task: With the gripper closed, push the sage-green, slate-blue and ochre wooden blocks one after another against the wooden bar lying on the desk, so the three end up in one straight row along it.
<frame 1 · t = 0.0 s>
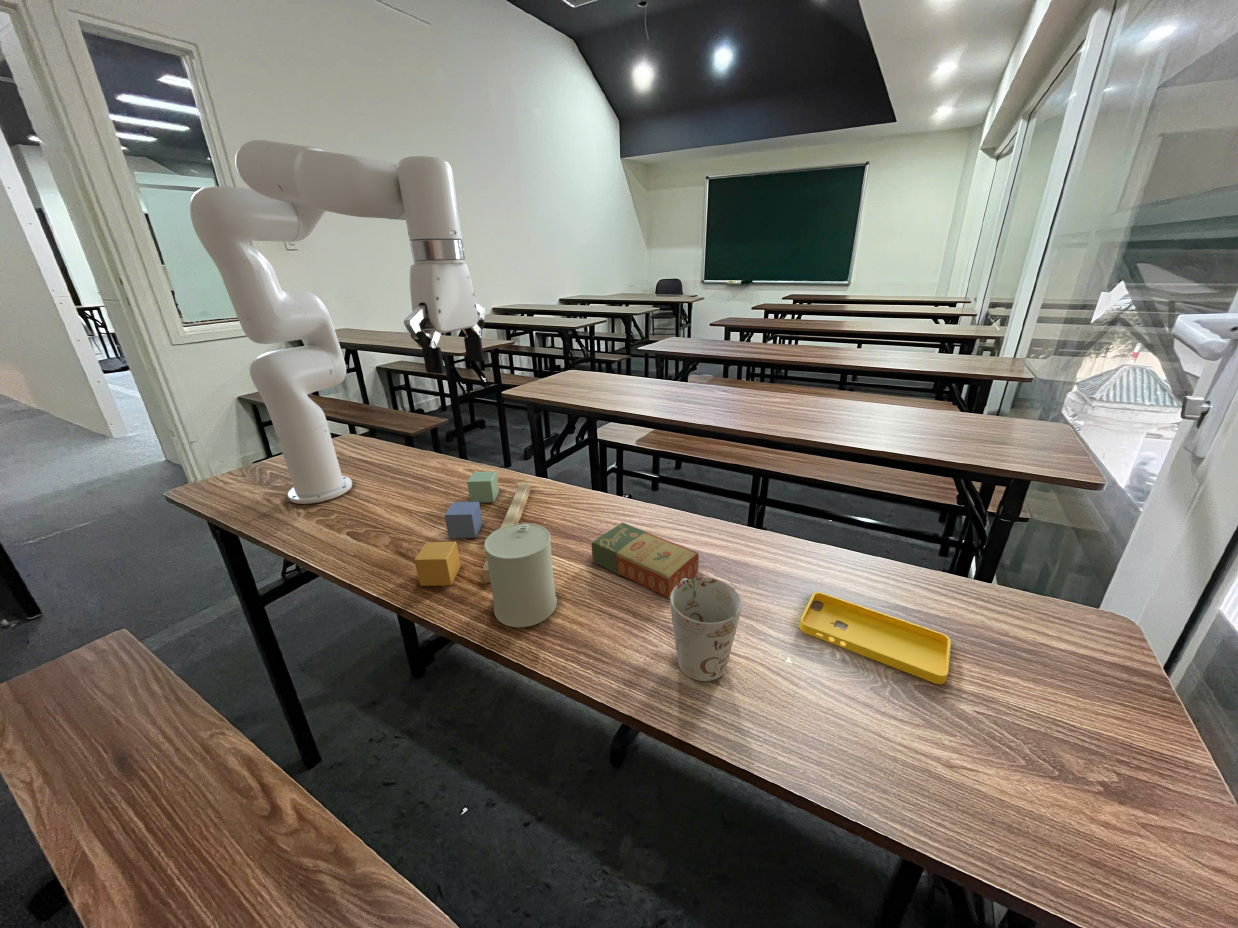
hand: (456, 366, 79), 31 cm above the table, tool pointing down, fingers open, 9 cm apart
phone case: (871, 638, 64), on the table
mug: (694, 651, 62), on the table
can: (526, 606, 71), on the table
block far: (485, 497, 104), on the table
block mid: (466, 531, 91), on the table
wooden bar: (510, 530, 91), on the table
carton: (643, 568, 79), on the table
block near: (441, 576, 78), on the table
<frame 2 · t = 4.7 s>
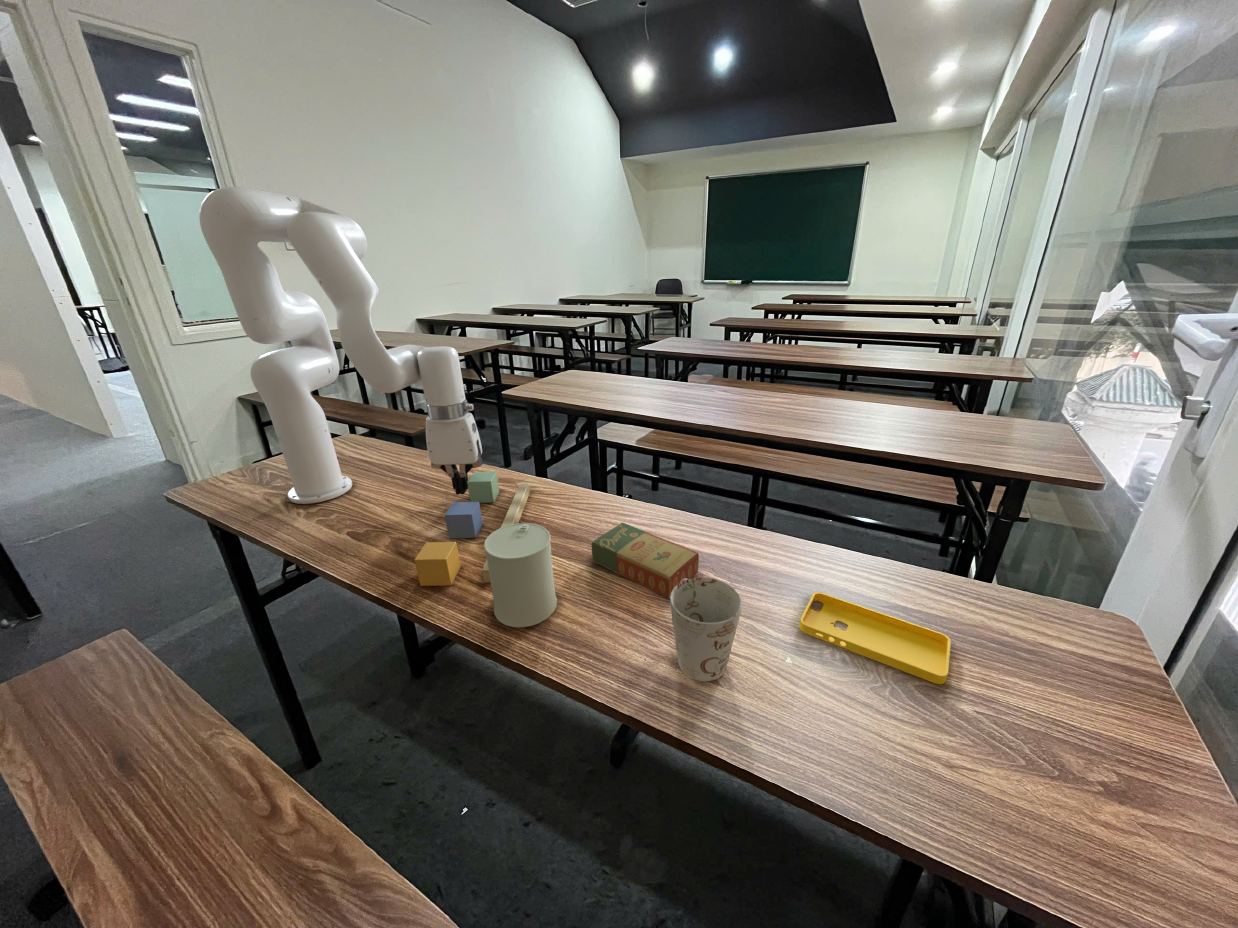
hand: (462, 491, 103), 2 cm above the table, tool pointing down, fingers closed
block far: (485, 497, 104), on the table, touching gripper
everything else where it was.
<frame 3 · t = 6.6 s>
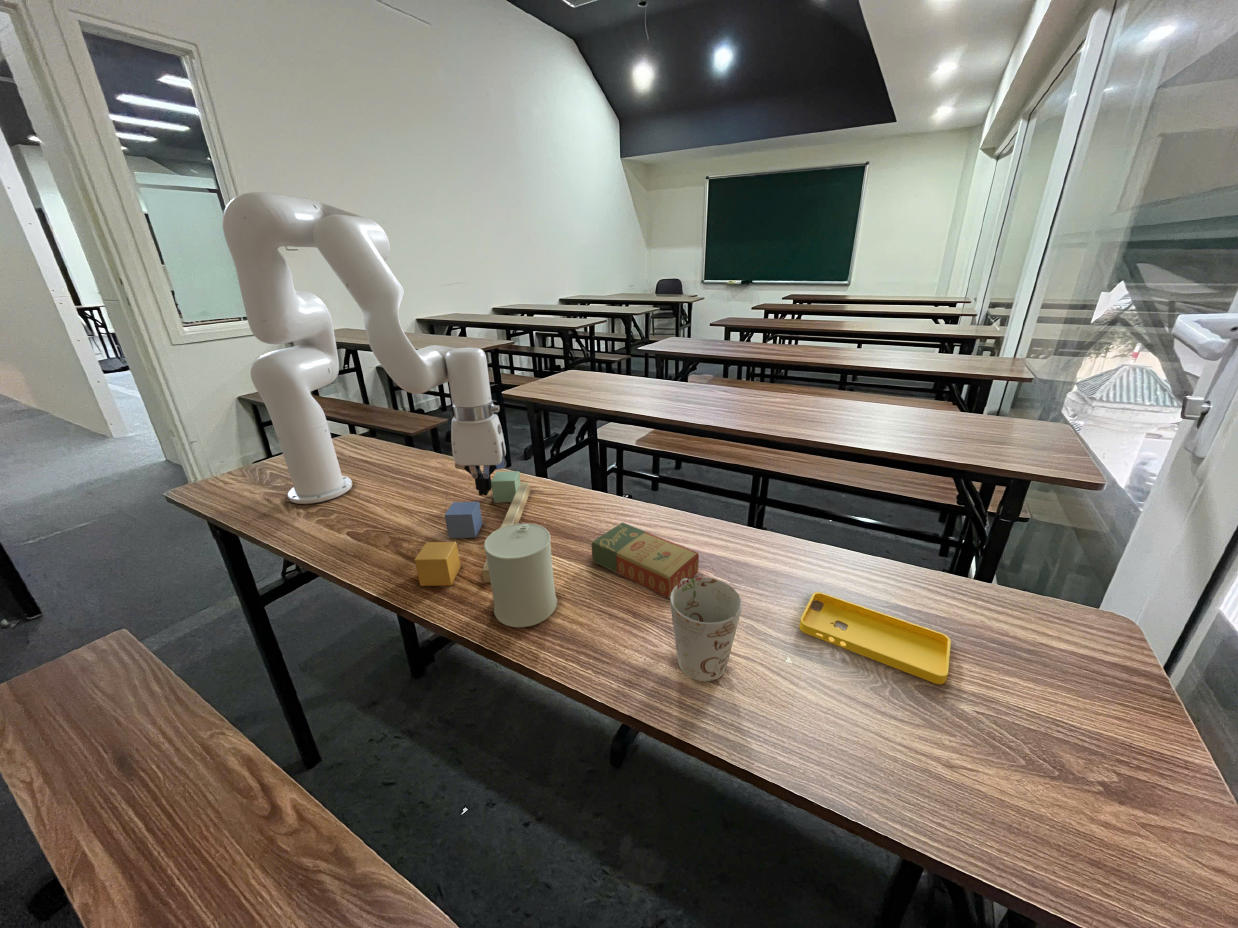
hand: (484, 492, 103), 1 cm above the table, tool pointing down, fingers closed
block far: (508, 496, 104), on the table, touching gripper, wooden bar
everything else where it was.
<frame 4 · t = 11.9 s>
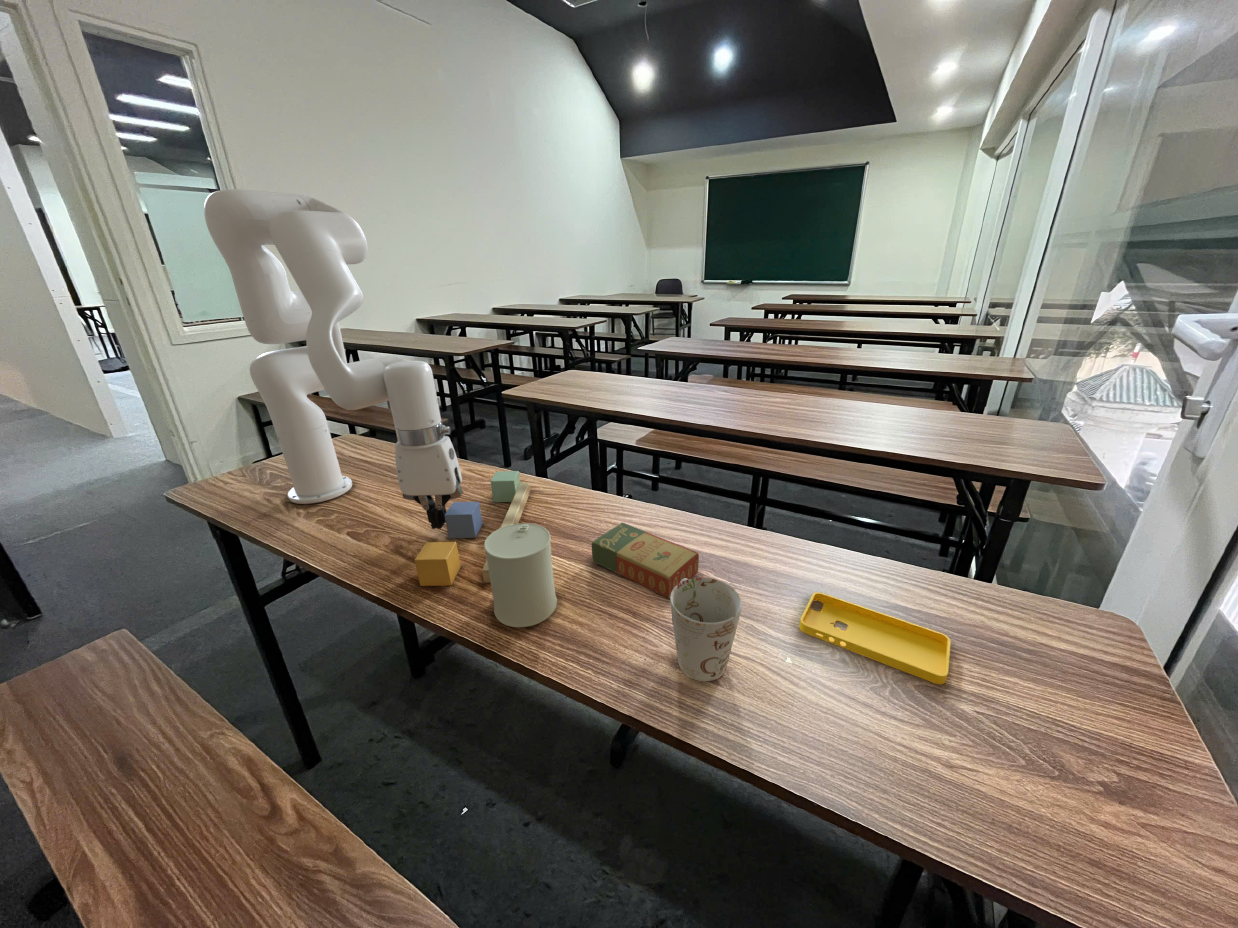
hand: (439, 524, 90), 2 cm above the table, tool pointing down, fingers closed
block far: (507, 496, 104), on the table
block mid: (466, 531, 91), on the table, touching gripper
everything else where it was.
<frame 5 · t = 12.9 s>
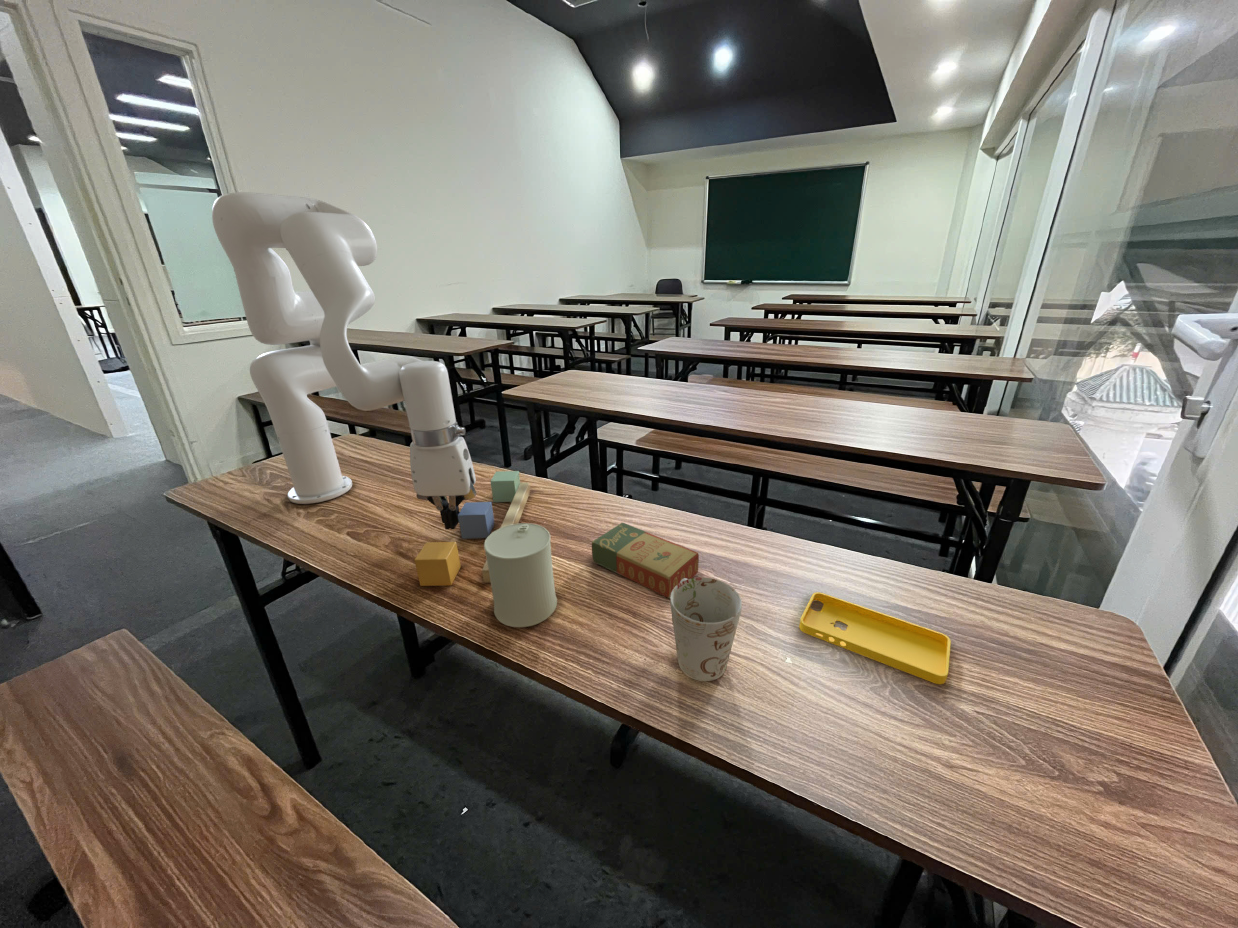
hand: (452, 525, 90), 1 cm above the table, tool pointing down, fingers closed
block mid: (478, 531, 91), on the table, touching gripper
everything else where it was.
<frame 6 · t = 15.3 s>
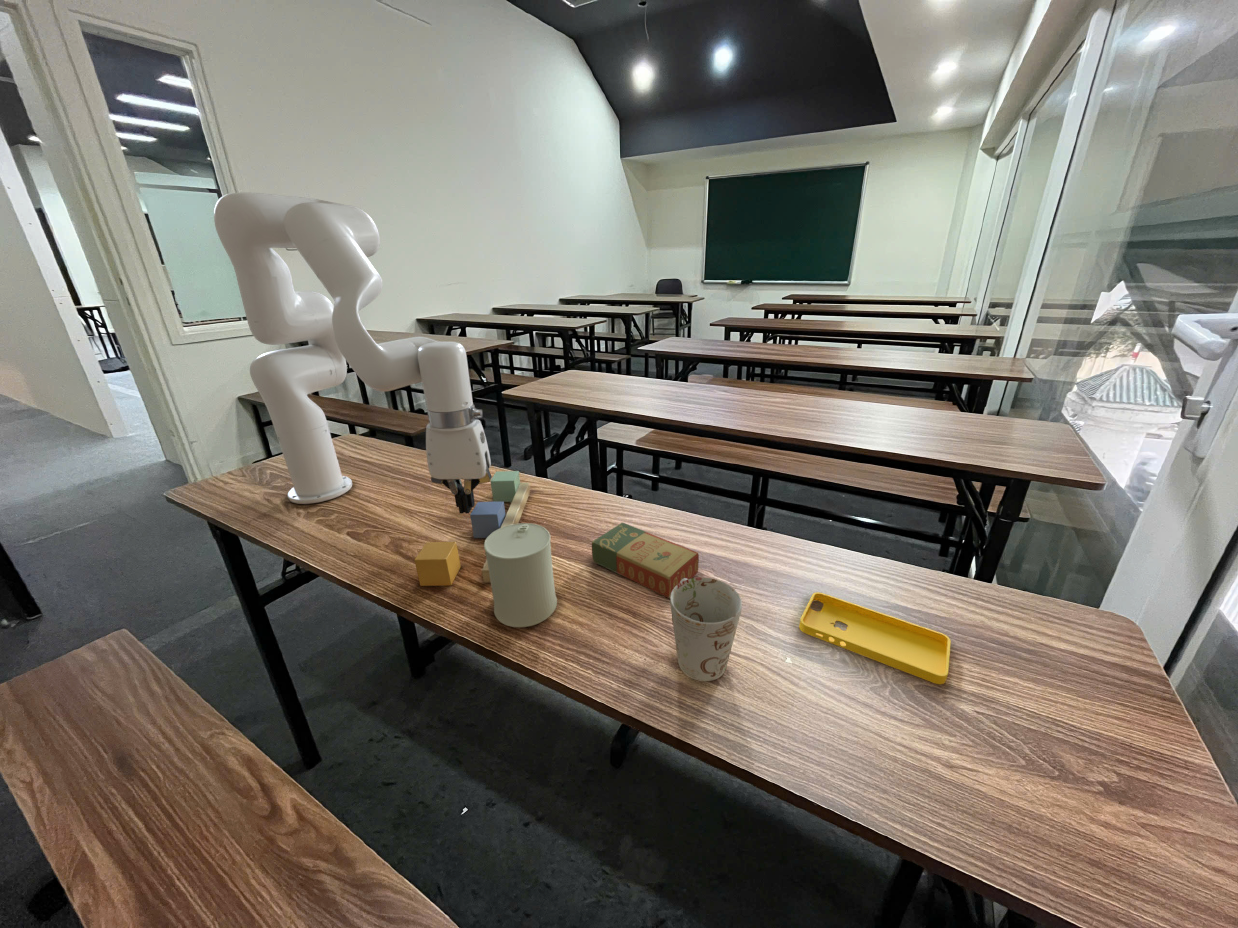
hand: (466, 509, 89), 5 cm above the table, tool pointing down, fingers closed
block mid: (490, 531, 91), on the table
everything else where it was.
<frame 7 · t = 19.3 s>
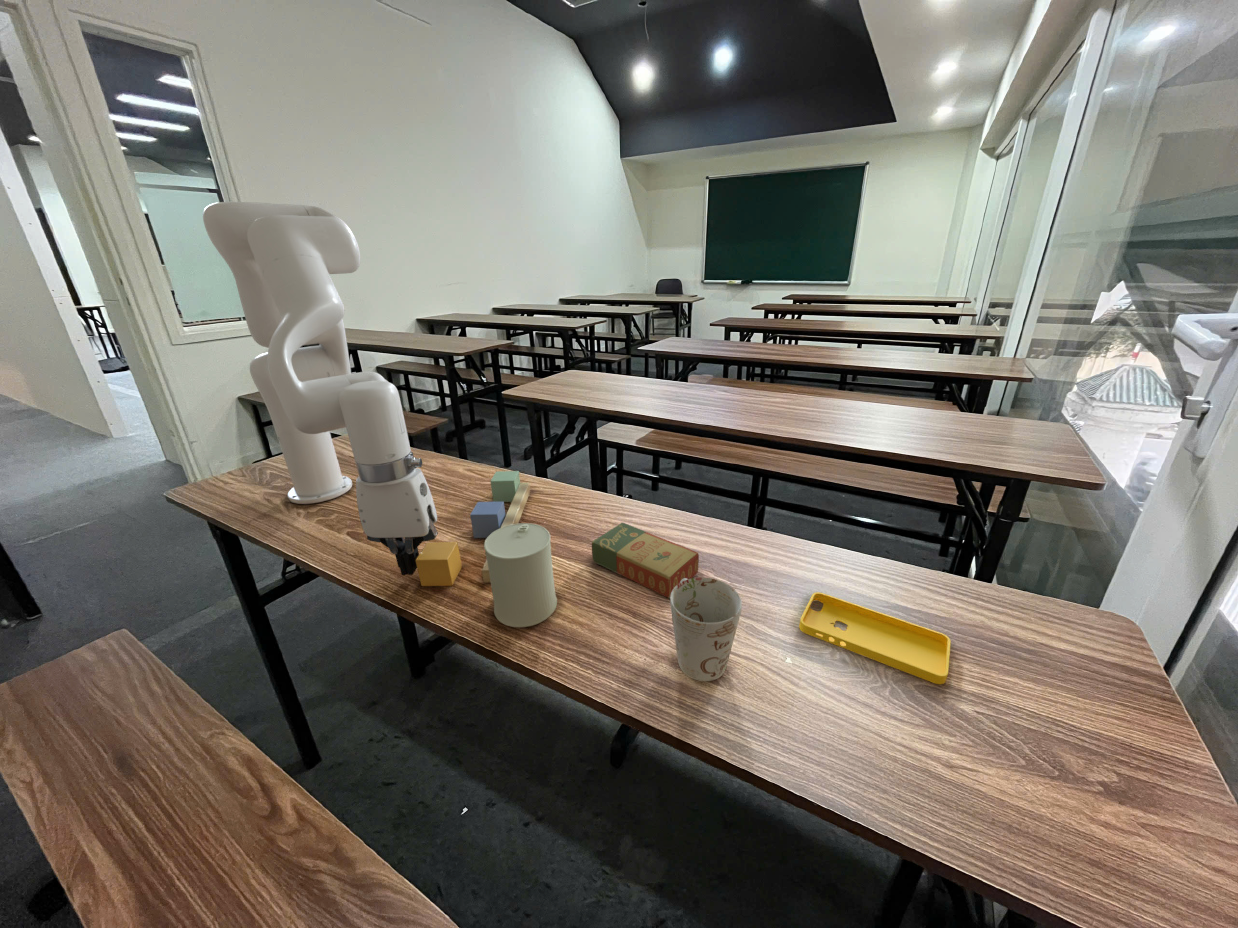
hand: (410, 569, 78), 1 cm above the table, tool pointing down, fingers closed
block near: (442, 576, 78), on the table, touching gripper
everything else where it was.
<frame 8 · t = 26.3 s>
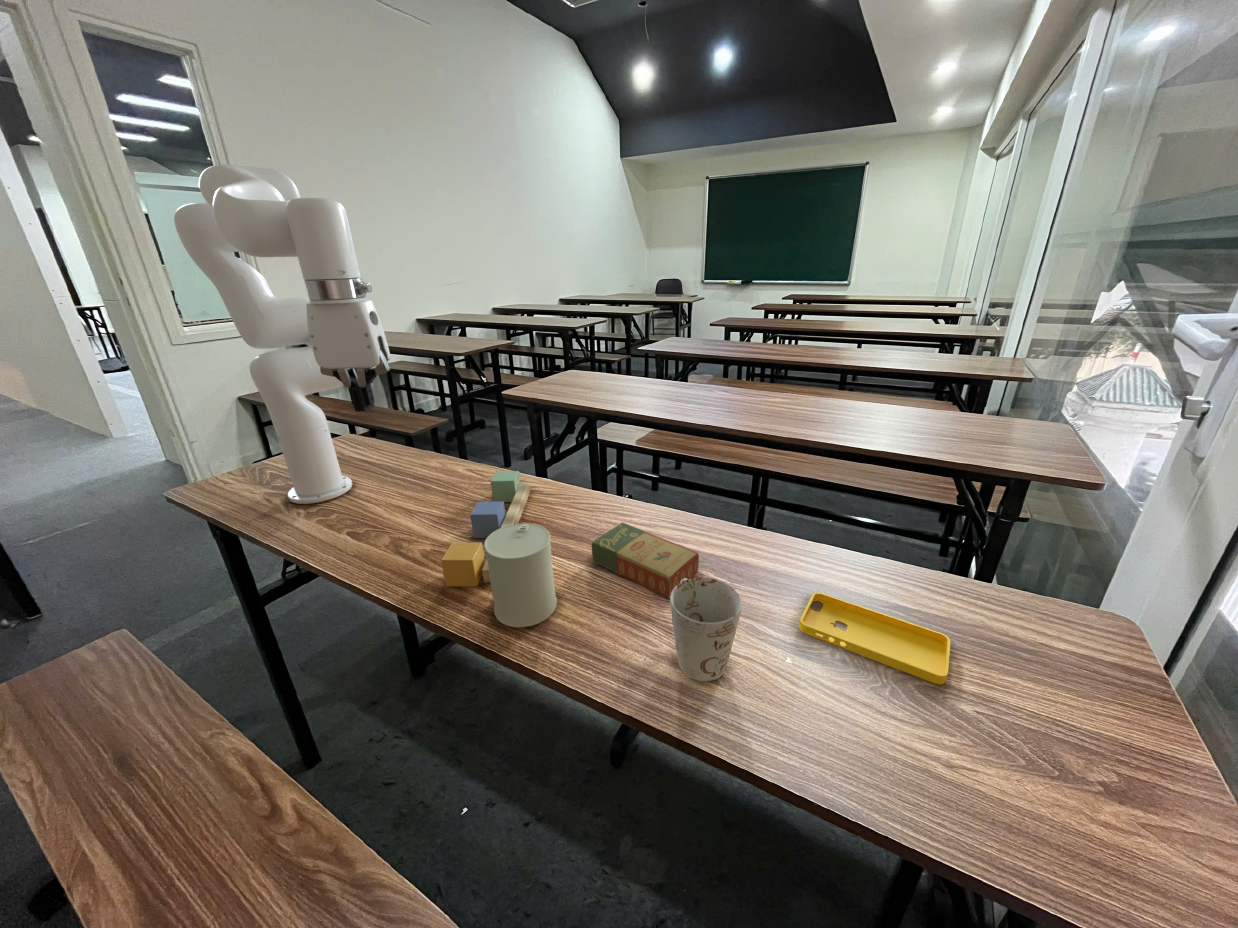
hand: (365, 409, 79), 25 cm above the table, tool pointing down, fingers closed
block near: (466, 576, 78), on the table
everything else where it was.
at the end: block far 0.1 cm from the target spot on the table beside the wooden bar, on the table; block mid 0.3 cm from the target spot on the table beside the wooden bar, on the table; block near 0.8 cm from the target spot on the table beside the wooden bar, on the table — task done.
